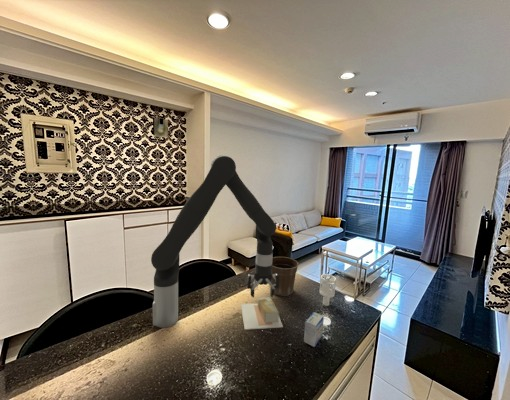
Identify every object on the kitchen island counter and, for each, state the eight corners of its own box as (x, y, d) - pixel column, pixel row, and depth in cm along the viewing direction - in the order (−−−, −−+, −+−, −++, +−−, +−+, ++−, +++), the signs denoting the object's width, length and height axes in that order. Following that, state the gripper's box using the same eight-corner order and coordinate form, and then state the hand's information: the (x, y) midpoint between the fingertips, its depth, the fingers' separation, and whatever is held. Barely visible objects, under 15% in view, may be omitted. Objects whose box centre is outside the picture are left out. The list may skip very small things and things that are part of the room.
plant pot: (260, 289, 123) (261, 260, 121) (279, 280, 134) (281, 254, 132) (282, 302, 112) (284, 271, 109) (302, 291, 122) (304, 263, 120)
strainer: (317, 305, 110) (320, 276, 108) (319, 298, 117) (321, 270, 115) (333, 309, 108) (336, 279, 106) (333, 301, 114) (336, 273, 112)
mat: (244, 329, 91) (244, 328, 91) (240, 304, 108) (240, 303, 108) (283, 327, 94) (283, 326, 94) (273, 303, 111) (273, 302, 110)
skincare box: (269, 296, 108) (279, 311, 96) (269, 304, 108) (279, 321, 97) (257, 297, 106) (265, 313, 94) (256, 306, 107) (264, 323, 95)
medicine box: (314, 348, 84) (316, 326, 82) (303, 342, 86) (305, 321, 85) (322, 336, 90) (324, 316, 89) (311, 331, 93) (313, 311, 91)
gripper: (249, 266, 96) (247, 301, 98) (281, 265, 98) (279, 300, 101) (247, 259, 104) (245, 292, 106) (277, 258, 106) (275, 291, 108)
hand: (262, 296), depth 103 cm, fingers open, 8 cm apart
